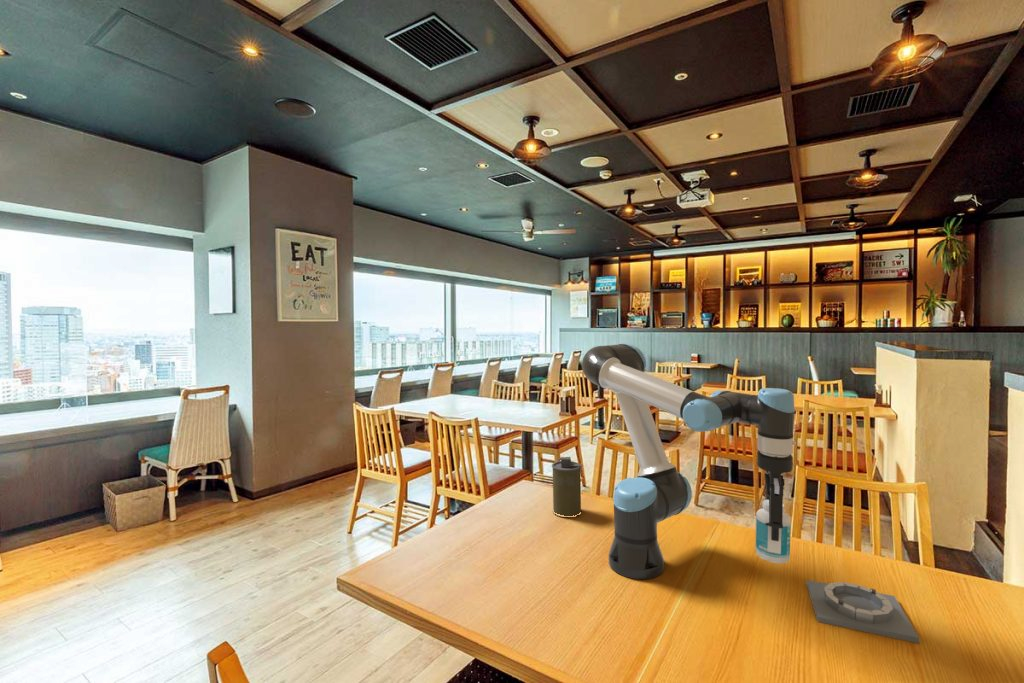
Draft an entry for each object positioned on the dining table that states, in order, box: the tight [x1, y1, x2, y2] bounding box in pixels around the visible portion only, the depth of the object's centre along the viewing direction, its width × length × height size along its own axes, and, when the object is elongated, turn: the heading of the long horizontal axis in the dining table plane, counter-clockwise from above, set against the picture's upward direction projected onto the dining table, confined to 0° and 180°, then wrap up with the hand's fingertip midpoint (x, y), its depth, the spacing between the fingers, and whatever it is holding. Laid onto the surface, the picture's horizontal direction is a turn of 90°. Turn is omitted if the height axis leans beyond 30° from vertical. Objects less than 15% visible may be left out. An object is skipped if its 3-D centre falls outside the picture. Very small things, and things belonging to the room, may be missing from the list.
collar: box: [824, 581, 893, 624], centre depth 107 cm, size 12×12×3 cm
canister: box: [551, 456, 584, 516], centre depth 166 cm, size 11×10×20 cm
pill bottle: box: [754, 499, 792, 564], centre depth 113 cm, size 8×7×14 cm
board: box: [806, 579, 920, 644], centre depth 108 cm, size 18×16×1 cm
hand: (772, 544), depth 113 cm, fingers closed on pill bottle, 7 cm apart
